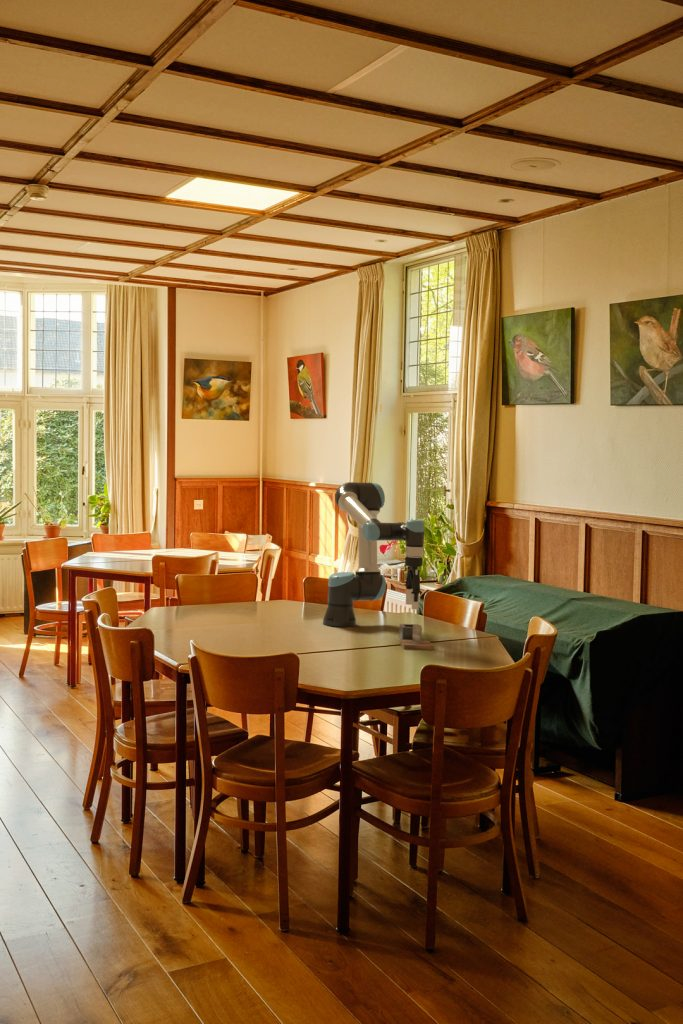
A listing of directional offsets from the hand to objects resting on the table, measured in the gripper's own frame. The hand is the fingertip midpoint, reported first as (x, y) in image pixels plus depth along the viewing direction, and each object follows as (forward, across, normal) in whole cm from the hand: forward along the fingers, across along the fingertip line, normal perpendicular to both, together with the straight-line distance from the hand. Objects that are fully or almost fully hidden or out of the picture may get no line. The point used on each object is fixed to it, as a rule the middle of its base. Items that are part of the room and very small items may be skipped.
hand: (411, 606), depth 422 cm
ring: (+14, 0, 0) cm, 14 cm away
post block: (+14, +14, 0) cm, 20 cm away
